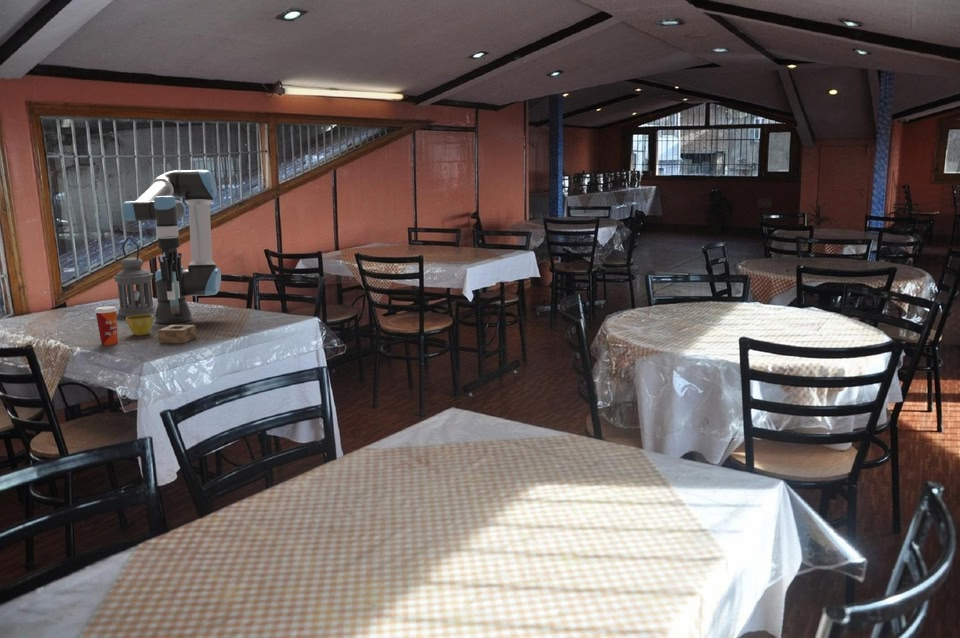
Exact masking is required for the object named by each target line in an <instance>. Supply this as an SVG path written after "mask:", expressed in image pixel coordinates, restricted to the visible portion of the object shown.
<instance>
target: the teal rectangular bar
mask: <svg viewBox="0 0 960 638" xmlns="http://www.w3.org/2000/svg"><path fill="white" fill-rule="evenodd" d="M172 283H174V290H175V300H170V308H171V314H178V313H179V303H178V293H177V282H176V272H175V271H172Z"/></svg>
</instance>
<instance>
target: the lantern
mask: <svg viewBox="0 0 960 638" xmlns="http://www.w3.org/2000/svg"><path fill="white" fill-rule="evenodd" d="M129 239H130V241H131V242H133V244H134V246H136V250H137V251H136V257H127V253H126V250H125V245H126V243H127V242H128V241H129ZM121 248H122V253H123V256H124V259H122V261H121V263H120V264H121V267H122V268H123V269H122V270H119V271H118V272H117V273H116V274H115V275H114V276H113V278H114V282H116V283H117V291H118V300H119V308H118V313H117V315H118V316H122V317H129V316H135V315H152V314H154V313H155V314H156V310H157V308H156V305H154V302H153V301H154V300H153V290H152V282H151V281H152V279H153V275H154V273H152V271H150V270H148V269H145V268H142V267H143V265H144V261H143V260H142V258H139V255H140V246H139V243H137V242H136V241H135V240H134V239H133V238H132V237H131V236H128V237H127V238H126V239H125V240H124V242H123V243H122V245H121ZM134 286H135V289H134Z"/></svg>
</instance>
